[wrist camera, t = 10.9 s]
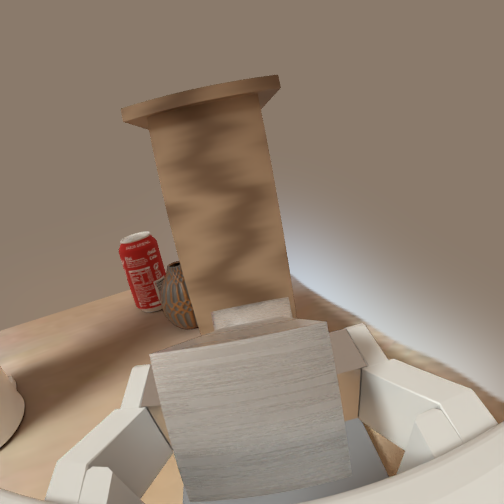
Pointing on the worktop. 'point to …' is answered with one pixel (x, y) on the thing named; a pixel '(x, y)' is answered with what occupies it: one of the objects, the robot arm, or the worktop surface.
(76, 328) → the worktop surface
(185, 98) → the brown boxy piece
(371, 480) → the slate mat
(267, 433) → the steel link
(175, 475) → the worktop surface
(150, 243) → the beverage can
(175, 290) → the vase
